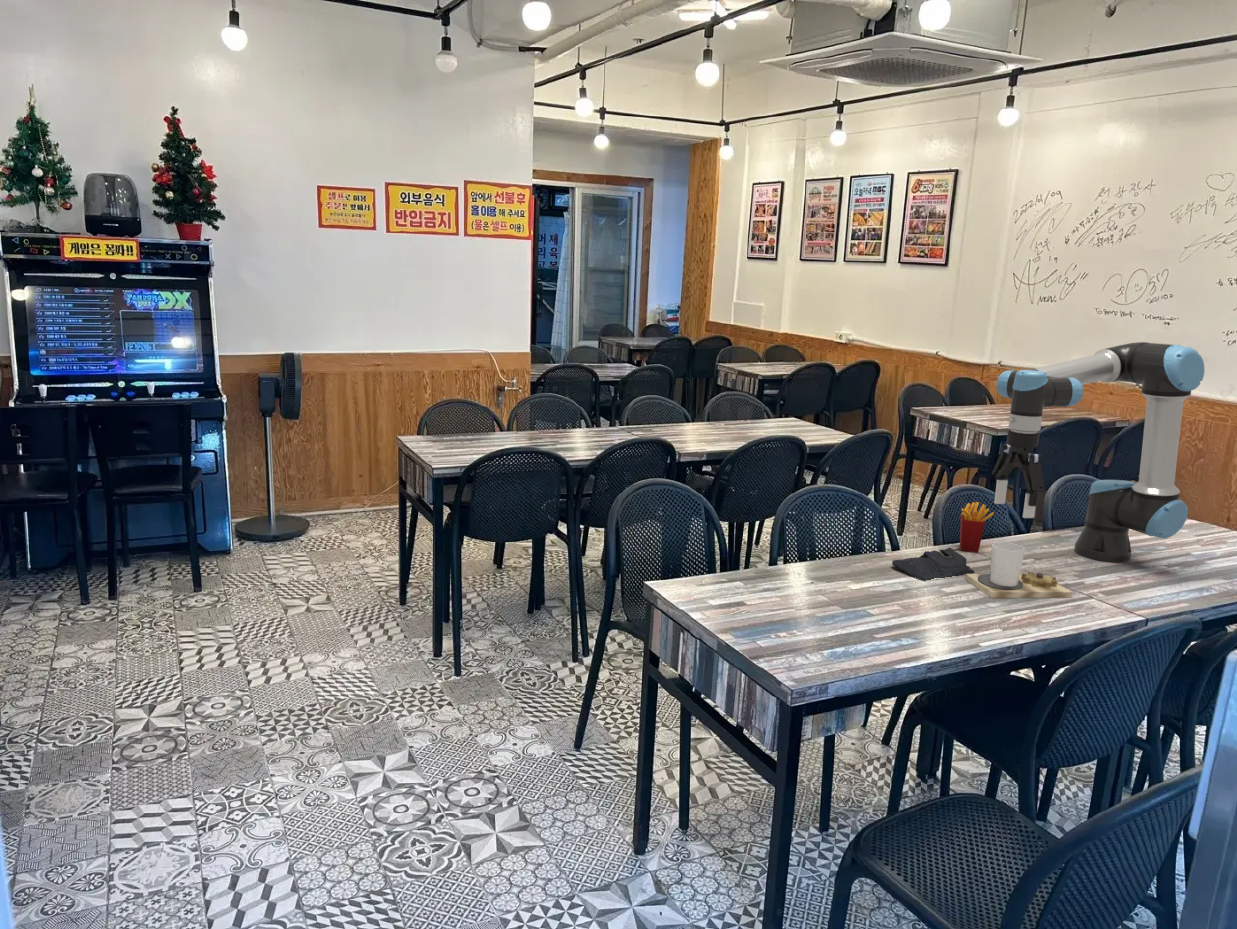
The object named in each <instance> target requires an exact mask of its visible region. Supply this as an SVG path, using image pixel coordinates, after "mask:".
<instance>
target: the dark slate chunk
mask: <svg viewBox="0 0 1237 929" xmlns="http://www.w3.org/2000/svg"><path fill="white" fill-rule="evenodd" d="M967 561H968V560H967V558H966V556H964V555H962V554H961V553H959V552H957V551H956V550H955V549H953V548H951V547H948V548H944V549H939V551H937V550H931V551H929V550H926V551H924V552H923V554H922V555H920V556H915V557H908V558H903V559H900V558H898V559H893V560H892V561H891V564H892V566H894V567H895V568H897V569H899V570H901V571H904V572H906V573H907V575H910V576H912V577H913V578H915V577H916V578H915V579H917V578H918V579H917V580H920V579H921V580H920V581H924V580H925V581H924V582H927V581H926V580H931V579H934V578H944V579H946V578H945V577H951V578H953V577H952V576H956V577H960V576H961V577H962V576H965V574H976V572H975V570H974V569H972V568H971V567H970V566H969V565H967Z"/></svg>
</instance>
